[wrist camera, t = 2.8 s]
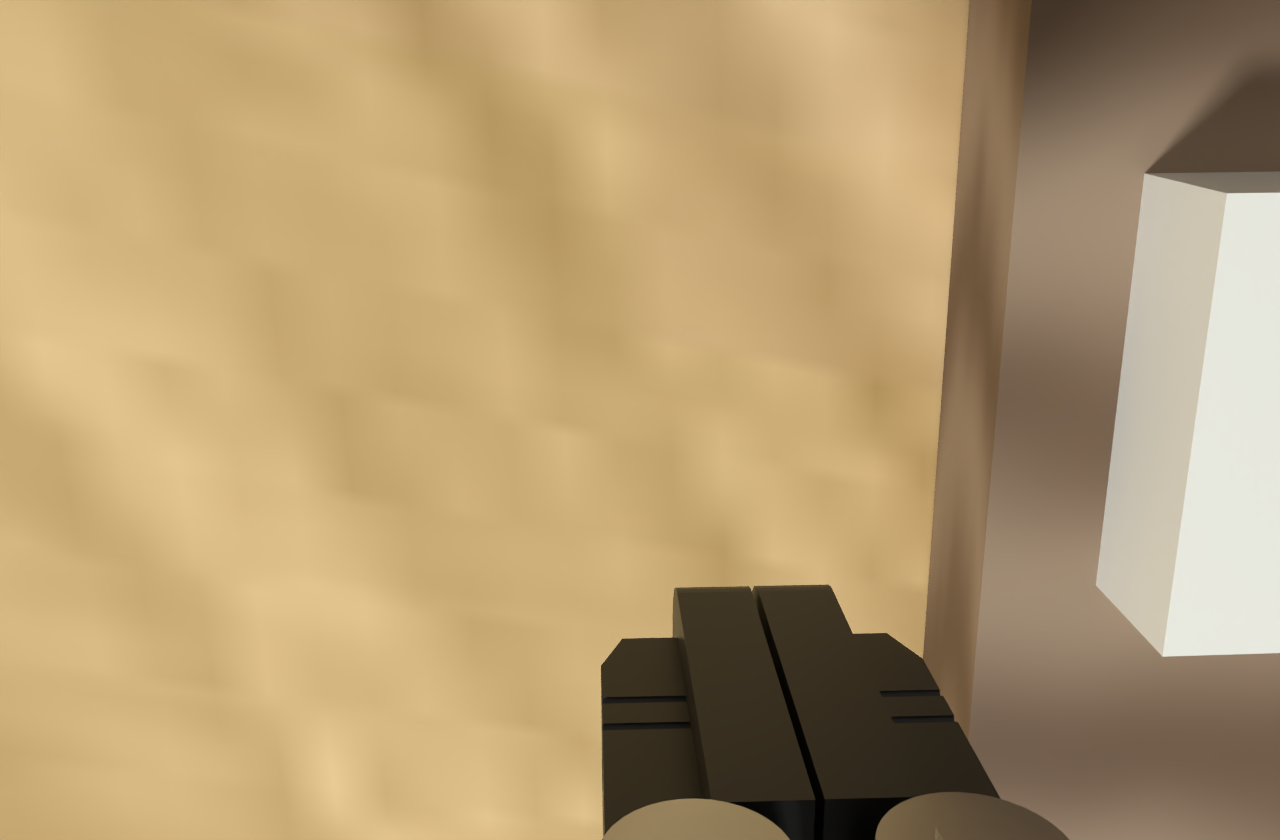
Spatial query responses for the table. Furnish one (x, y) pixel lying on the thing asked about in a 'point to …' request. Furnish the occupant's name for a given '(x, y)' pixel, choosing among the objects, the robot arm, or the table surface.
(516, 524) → the table surface
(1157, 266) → the white flat block
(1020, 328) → the deck
